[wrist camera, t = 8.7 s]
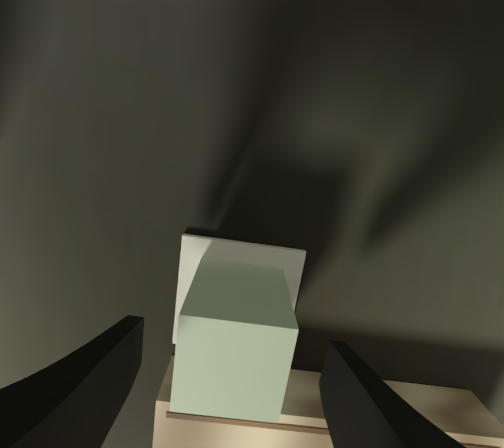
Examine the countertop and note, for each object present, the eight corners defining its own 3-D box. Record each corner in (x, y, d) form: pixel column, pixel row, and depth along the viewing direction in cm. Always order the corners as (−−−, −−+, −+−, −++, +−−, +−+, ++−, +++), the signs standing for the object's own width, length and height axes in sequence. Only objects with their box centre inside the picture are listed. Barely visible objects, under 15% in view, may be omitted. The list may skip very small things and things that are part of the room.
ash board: (470, 390, 18) (515, 440, 15) (443, 456, 19) (479, 514, 16) (172, 355, 17) (156, 401, 14) (165, 426, 18) (149, 483, 15)
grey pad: (305, 250, 15) (306, 252, 15) (284, 352, 17) (284, 356, 16) (183, 233, 15) (182, 235, 15) (173, 339, 16) (172, 343, 16)
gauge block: (282, 268, 15) (298, 329, 10) (269, 338, 16) (278, 423, 11) (201, 257, 15) (178, 314, 10) (193, 328, 16) (169, 411, 11)
